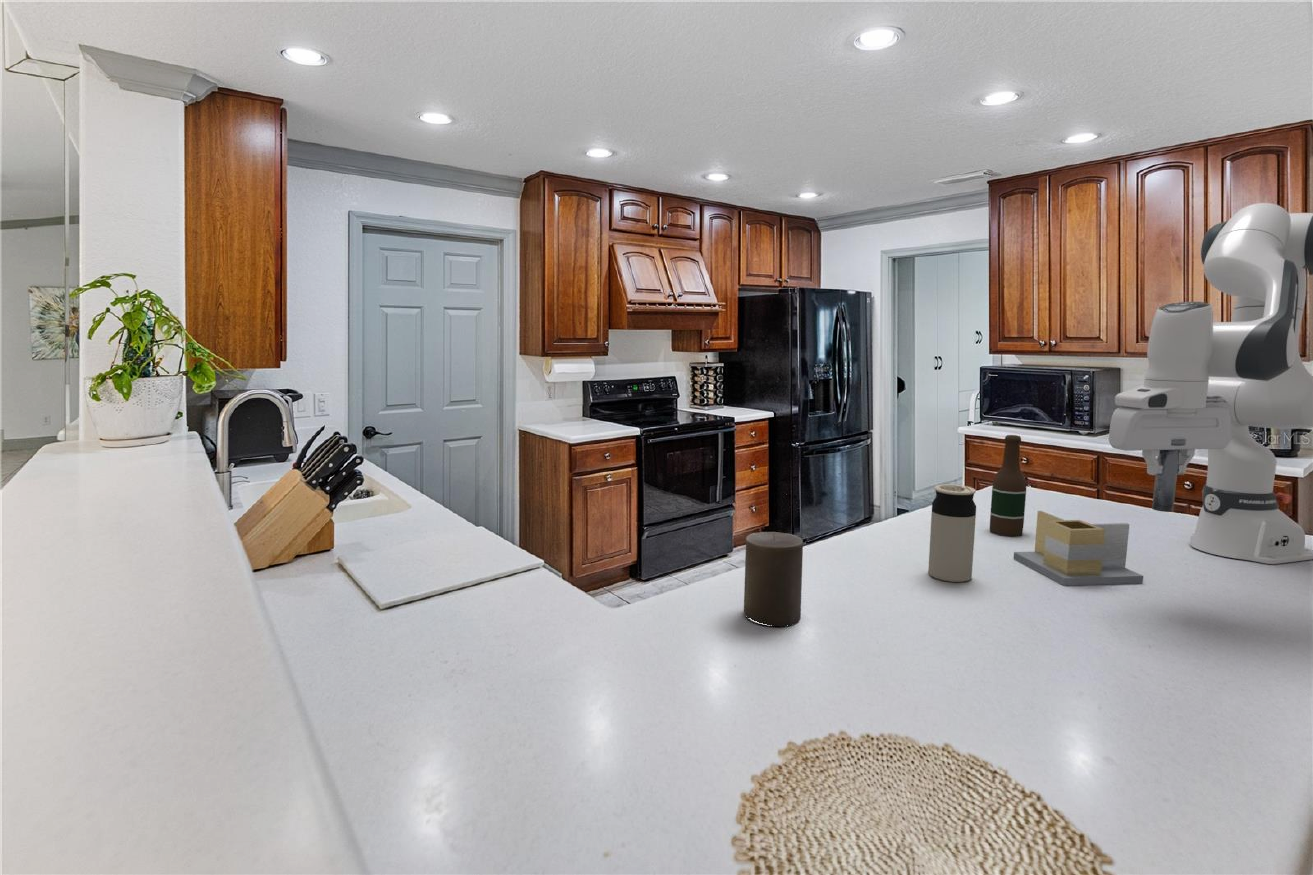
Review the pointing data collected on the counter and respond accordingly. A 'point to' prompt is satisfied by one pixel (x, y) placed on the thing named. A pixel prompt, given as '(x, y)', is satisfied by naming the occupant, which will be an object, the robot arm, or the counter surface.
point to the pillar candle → (773, 578)
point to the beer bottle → (1009, 493)
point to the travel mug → (952, 533)
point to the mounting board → (1106, 576)
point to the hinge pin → (1167, 478)
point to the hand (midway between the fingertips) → (1165, 474)
